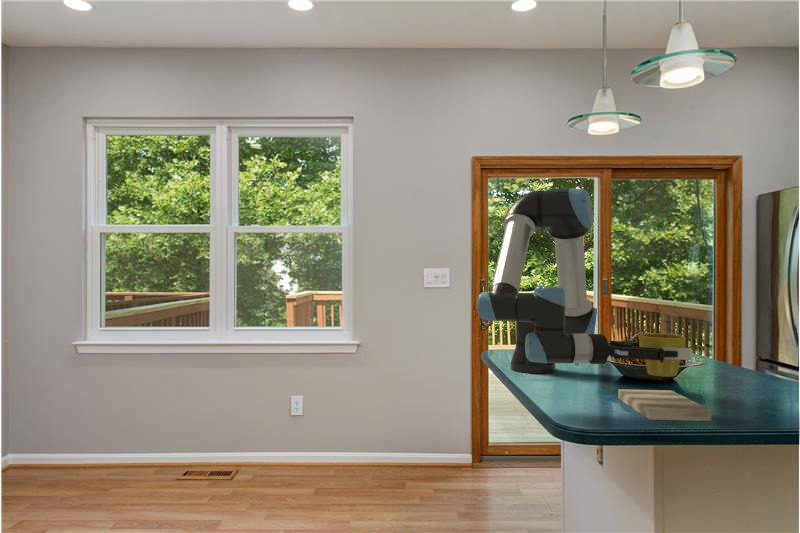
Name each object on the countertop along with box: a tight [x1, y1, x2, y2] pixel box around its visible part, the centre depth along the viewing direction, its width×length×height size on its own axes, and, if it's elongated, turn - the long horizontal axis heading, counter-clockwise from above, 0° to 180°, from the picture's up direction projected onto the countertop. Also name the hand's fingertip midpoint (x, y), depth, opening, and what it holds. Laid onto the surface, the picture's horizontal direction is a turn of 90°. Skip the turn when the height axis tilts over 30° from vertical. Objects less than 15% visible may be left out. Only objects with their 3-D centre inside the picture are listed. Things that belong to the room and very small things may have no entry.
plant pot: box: [638, 332, 686, 378], centre depth 132 cm, size 10×10×10 cm
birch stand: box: [617, 388, 712, 422], centre depth 133 cm, size 20×14×2 cm
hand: (678, 350), depth 132 cm, fingers closed on plant pot, 10 cm apart
